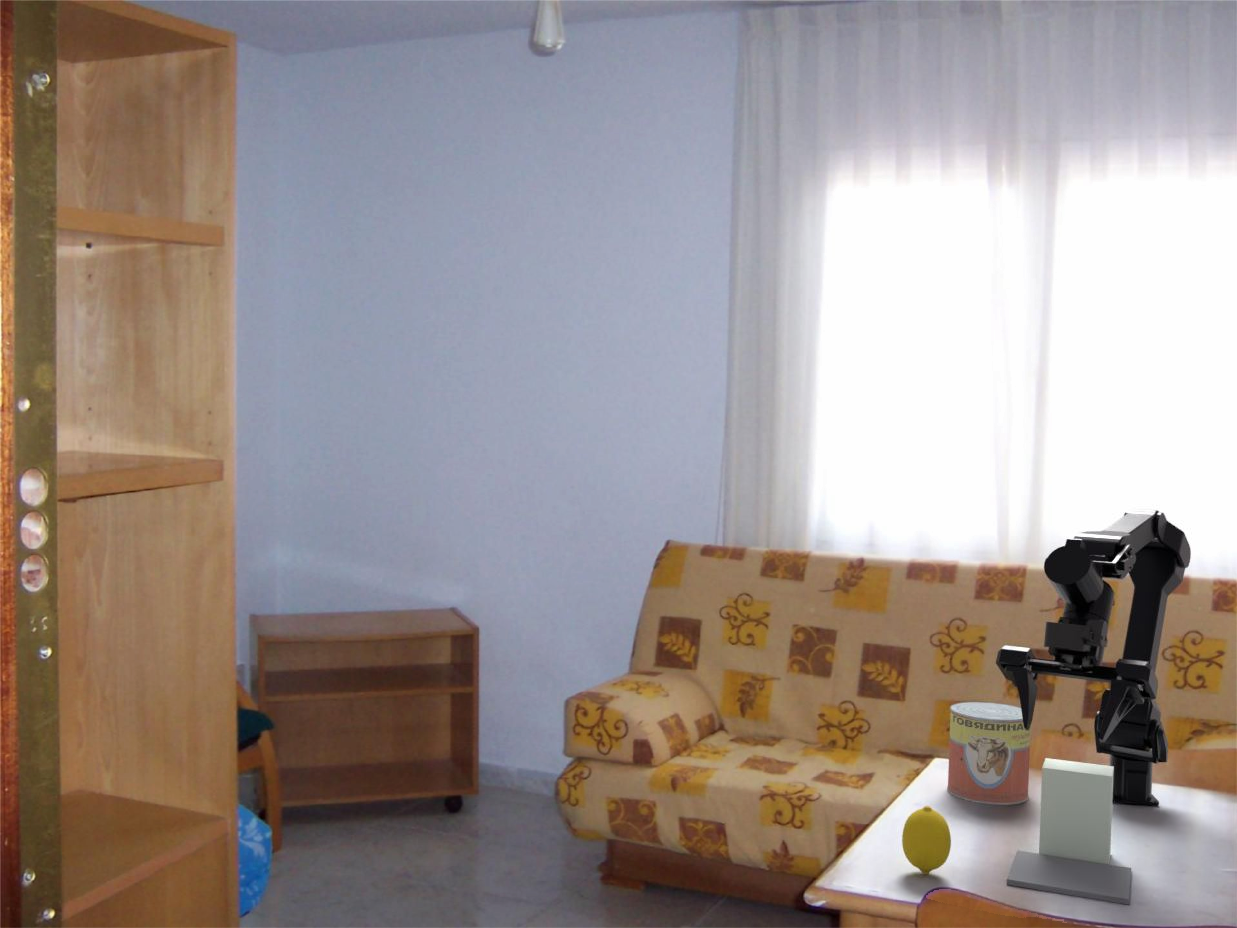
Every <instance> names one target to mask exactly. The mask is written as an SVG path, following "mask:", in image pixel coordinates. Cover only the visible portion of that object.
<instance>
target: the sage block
mask: <svg viewBox="0 0 1237 928" xmlns="http://www.w3.org/2000/svg"><path fill="white" fill-rule="evenodd" d="M1113 774H1114V766H1110V765H1105V764H1104V765H1103V764H1095V763H1088V762H1081V761H1080V762H1079V761H1072V760H1064V759H1054V758H1049V757H1045V758H1044V762H1043V764H1042V767H1041V788H1040V789H1041V791H1040V792H1041V794H1040V817H1039V843H1038V844H1039V846H1038V854H1045V855H1051V856H1058V857H1064V858H1071V859H1077V860H1084V861H1090V862H1097V863H1103V864H1110V860H1111V850H1112V846H1111V845H1112V842H1111V841H1112V824H1113V822H1112V821H1113V820H1112V819H1113V802H1112V800H1113Z"/></svg>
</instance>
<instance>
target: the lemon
mask: <svg viewBox="0 0 1237 928" xmlns="http://www.w3.org/2000/svg"><path fill="white" fill-rule="evenodd" d="M901 839H902V840H901V843H902V850H903V853H904V855H905V858H906V859H907V861H908V862H909V863H910V864H911V866H913V867H915V868H916V869H918V870H919V871H920V872H921V873H922V875H929V874H930V873H931V872H932V871H934V870H937V869H940V868H941V867H942V866H943V865H944V864H945V863H946V862H947V861H948V858H949V856H950V852H951V847H952V837H951V831H950V828H949V824H948V822H947V820H946V819H945V817H944V816H943V815H942V814H940V812H938V811H937V810H935V809H932V807H931V806H927V805H926V806H924V807H923V808H920V809H917V810H914V811H913V812H912V813H911V814H910V815H909V816H908V817H907V819H906V820H905V823H904V826H903V829H902V837H901Z"/></svg>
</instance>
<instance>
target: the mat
mask: <svg viewBox="0 0 1237 928" xmlns="http://www.w3.org/2000/svg"><path fill="white" fill-rule="evenodd" d="M1131 881H1132V867H1127V866H1124V865H1123V866H1121V865H1115V864H1110V863H1109V864H1103V863H1097V862H1090V861H1084V860H1077V859H1071V858H1064V857H1058V856H1051V855H1045V854H1039V852H1038V853H1037V852H1031V851H1025V850H1018V849H1017V850H1016V853H1015V855H1014V858H1013V860H1012V864H1011V867H1010V870H1009V872H1008V875H1007V878H1006V885H1008V886H1013V887H1014V886H1015V887H1020V888H1025V889H1026V888H1027V889H1032V890H1039V891H1045V892H1051V893H1056V894H1057V893H1058V894H1064V895H1070V896H1075V897H1080V898H1081V897H1082V898H1086V899H1087V898H1088V899H1094V900H1100V901H1103V902H1104V901H1106V902H1109V903H1111V902H1112V903H1118V904H1123V905H1124V904H1125V905H1130V895H1131Z"/></svg>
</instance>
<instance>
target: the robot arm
mask: <svg viewBox="0 0 1237 928" xmlns="http://www.w3.org/2000/svg"><path fill="white" fill-rule="evenodd" d="M1190 546H1191V545H1190V544H1189V541H1188V539H1187V536H1186V534H1185V532H1184V531H1183V530H1182V529H1180V528H1179V527H1177V526H1176V525H1175V524H1173V523H1171V522H1170V521H1168V519H1167V518H1166V515H1165V513H1164V512H1161V511H1159V510H1154V509H1142V508H1141V509H1138V508H1131V509H1130V510H1125V512H1124V514H1123V516H1122V517H1121V518H1119V519H1118V520H1116V521H1114V522H1113V523H1112V524H1110V525H1109V526H1108V527H1106V528H1104V529H1103V530H1095V531H1093V530H1092V531H1090V530H1089V531H1082V532H1077V534H1075V536H1074V537H1073V538H1071V537H1069V538H1066V539H1065V545H1062V546H1059V547H1057V548H1056V549H1054V550H1053V551H1051V552H1050V553H1049V554H1048V556H1047V557H1046V558H1045V560H1044V562H1043V569H1044V573H1045V576H1046V577H1047V578H1048V581H1049V582H1050V584H1051V586H1052V587H1053V589H1054V590H1055V592H1056V593H1057V595H1058V596H1059V597H1060V599H1062V601H1063V602H1064V606H1063V612H1062V616H1059V619H1058V620H1057V622H1055V621H1045V631H1044V641H1043V647H1044V648H1048V650H1047V652H1048V654H1049V655H1050V656H1052V657H1053V659H1044V658H1038V657H1036V655H1035V654H1034V653H1035V652H1033V651H1032V648H1031V647H1024V646H1023V647H1022V646H1013V645H1003V646H1002V647H1001V648H1000V649H999V650H998V652H997V655H996V660H995V664H996V666H997V667H998V669H999V670H1000V672H1001V674H1002V675H1003V677H1004V678H1005V679H1006V680H1007V681H1010V682H1011V683H1012V684H1013V686H1014V687H1015V688H1017V692H1018V698H1019V702H1020V708H1021V711H1022V718H1023V725H1024V728H1025V730H1029V729H1030V726H1032V722H1033V717H1034V712H1035V707H1036V702H1037V701H1036V700H1037V697H1038V696H1037V695H1038V690H1039V689H1038V687H1039V686H1038V685H1037V683H1036V682H1035V681H1037V680H1038V678H1039V675H1045V676H1053V677H1062V678H1067V679H1077V680H1083V681H1093V682H1100V683H1109V684H1110V688H1106V689H1105V690H1104V691H1103V693H1102V695H1101V702H1100V708H1099V710H1098V711H1097V712H1096V714H1095V718H1094V722H1093V723H1094V728H1093V729H1094V740H1095V747H1096V748H1095V749H1096V753H1097V754H1104V755H1109V766H1114V774H1113V800H1112V803H1117V804H1132V805H1134V804H1135V805H1148V806H1159V805H1160V800H1158V799H1157V798H1156V797H1155V795H1153V794H1152V791H1153V790H1152V788H1153V787H1152V786H1153V765H1154V764H1155V765H1156V764H1157V765H1158V764H1160V763H1167V762H1168V760H1169V759H1168V757H1169V756H1168V755H1169V742H1168V739H1167V735H1166V732H1165V729H1164V725H1163V723H1162V721H1161V715H1162V713H1161V710H1160V707H1159V706H1158V704H1157V700H1156V699H1157V696H1158V688H1159V680H1158V678H1157V675H1156V669H1157V664H1158V658H1159V651H1160V646H1161V645H1160V644H1161V640H1162V639H1161V638H1162V634H1163V627H1164V621H1165V616H1166V609H1167V604H1168V603H1167V602H1168V598H1169V596H1170V595H1171V594H1172V593H1173V592H1174V591H1175V590H1176V589H1177V588H1178V587H1179V586H1180V585H1181V584H1182V583H1183V580H1184V575H1185V571H1186V569H1187V568H1189V566H1190V563H1191V555H1192V554H1191V552H1192V551H1191V547H1190ZM1127 575H1129V577H1130V580H1131V582H1132V584H1133V587H1134V588H1133V592H1132V593H1133V594H1132V600H1131V607H1130V611H1129V616H1128V623H1127V628H1126V633H1125V634H1126V636H1125V640H1124V646H1123V652H1122V658H1118V659H1117V661H1116V663H1115V667H1112V666H1105V665H1104V666H1103V661H1104V660H1103V658H1104V653H1105V648H1107V646H1108V641H1109V639H1108V632H1109V627H1110V626H1109V625H1110V620H1111V616H1112V615H1111V614H1112V610H1113V606H1115V593H1116V592H1115V590H1114V589H1113V587H1112V586H1111V585H1110V584H1109V582H1107V581H1106V580H1104V579H1110V580H1111V579H1112V580H1124V579H1125V578H1126V577H1127ZM1030 730H1031V729H1030Z"/></svg>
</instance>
